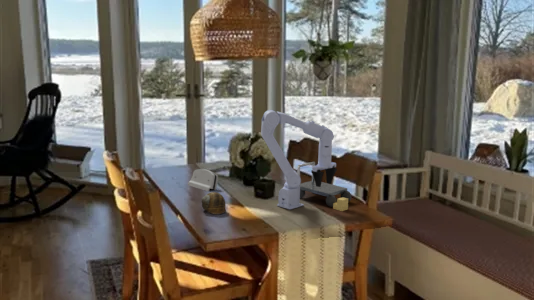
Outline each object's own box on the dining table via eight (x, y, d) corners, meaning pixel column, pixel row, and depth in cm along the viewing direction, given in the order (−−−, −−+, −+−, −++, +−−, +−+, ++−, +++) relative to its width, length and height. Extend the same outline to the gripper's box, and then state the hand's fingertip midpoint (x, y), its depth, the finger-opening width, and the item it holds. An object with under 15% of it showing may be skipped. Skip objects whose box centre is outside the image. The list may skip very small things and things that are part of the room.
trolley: (333, 208, 220) (335, 173, 217) (293, 196, 236) (294, 164, 233) (352, 202, 230) (353, 169, 227) (312, 191, 246) (313, 160, 243)
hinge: (187, 185, 254) (192, 165, 254) (194, 186, 257) (199, 167, 258) (208, 191, 243) (213, 171, 243) (215, 192, 246) (220, 173, 247)
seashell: (197, 209, 214) (197, 191, 213) (216, 206, 220) (216, 188, 218) (210, 216, 205) (210, 197, 204) (230, 212, 211) (230, 194, 209)
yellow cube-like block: (342, 211, 216) (342, 200, 215) (333, 208, 220) (333, 197, 219) (347, 209, 219) (348, 198, 218) (338, 207, 222) (339, 196, 221)
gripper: (321, 158, 212) (320, 189, 215) (342, 154, 222) (340, 183, 225) (309, 156, 217) (307, 186, 219) (329, 152, 227) (328, 181, 230)
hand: (323, 184), depth 222 cm, fingers open, 7 cm apart
